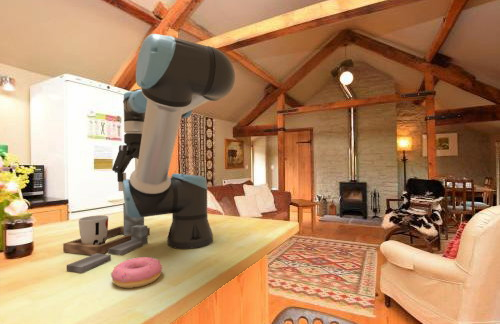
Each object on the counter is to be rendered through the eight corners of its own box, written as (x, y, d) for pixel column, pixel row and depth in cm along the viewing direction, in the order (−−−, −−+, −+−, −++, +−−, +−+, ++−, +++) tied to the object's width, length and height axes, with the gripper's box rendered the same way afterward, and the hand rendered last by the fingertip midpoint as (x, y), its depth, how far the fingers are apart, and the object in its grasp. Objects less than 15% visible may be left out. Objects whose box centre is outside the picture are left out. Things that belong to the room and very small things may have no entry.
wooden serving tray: (152, 233, 101) (151, 202, 101) (97, 255, 77) (96, 214, 77) (123, 231, 105) (123, 201, 105) (63, 251, 81) (62, 212, 81)
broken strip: (148, 243, 89) (148, 225, 89) (81, 273, 65) (81, 249, 65) (136, 242, 91) (136, 224, 91) (66, 271, 67) (66, 247, 67)
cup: (94, 254, 79) (94, 221, 79) (72, 252, 81) (72, 220, 81) (114, 246, 87) (114, 215, 87) (93, 244, 89) (93, 214, 89)
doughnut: (167, 282, 60) (167, 264, 60) (113, 296, 54) (113, 276, 54) (156, 267, 69) (156, 251, 69) (109, 277, 63) (108, 259, 64)
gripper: (147, 137, 114) (148, 186, 114) (100, 130, 90) (100, 192, 90) (162, 136, 112) (163, 186, 112) (118, 129, 88) (119, 192, 88)
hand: (135, 189), depth 101 cm, fingers open, 13 cm apart
